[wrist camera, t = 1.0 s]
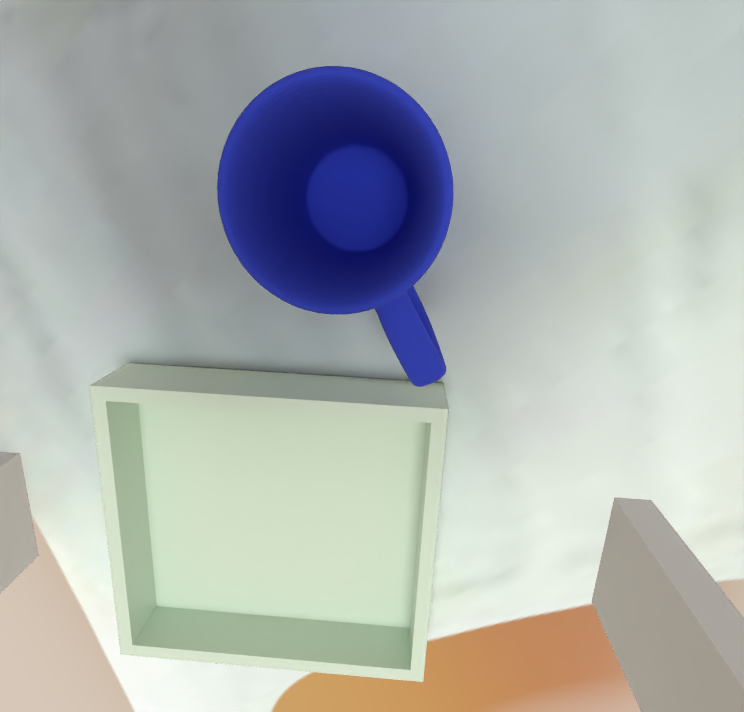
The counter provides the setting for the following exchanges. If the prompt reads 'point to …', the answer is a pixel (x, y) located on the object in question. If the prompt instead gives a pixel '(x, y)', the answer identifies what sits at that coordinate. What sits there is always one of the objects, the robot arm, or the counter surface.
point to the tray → (271, 516)
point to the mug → (341, 201)
